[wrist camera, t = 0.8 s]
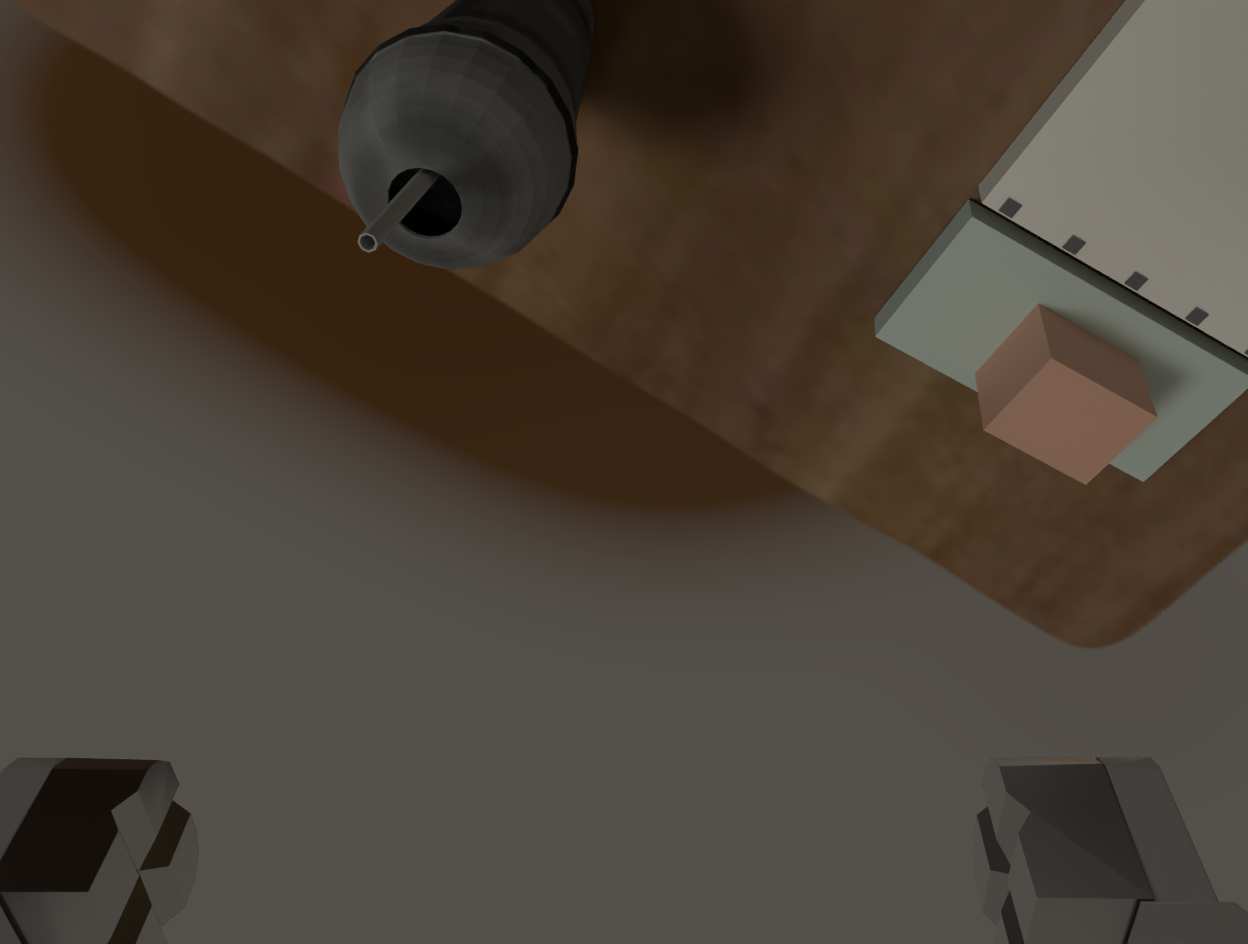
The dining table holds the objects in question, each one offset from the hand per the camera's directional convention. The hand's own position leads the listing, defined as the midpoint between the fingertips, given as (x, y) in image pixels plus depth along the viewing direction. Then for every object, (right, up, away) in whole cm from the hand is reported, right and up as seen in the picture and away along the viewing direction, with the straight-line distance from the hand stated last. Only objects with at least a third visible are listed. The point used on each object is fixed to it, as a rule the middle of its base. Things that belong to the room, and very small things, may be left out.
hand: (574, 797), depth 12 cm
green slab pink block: (+19, +9, +38) cm, 43 cm away
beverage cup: (-3, +20, +33) cm, 39 cm away
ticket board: (+24, +16, +32) cm, 43 cm away
